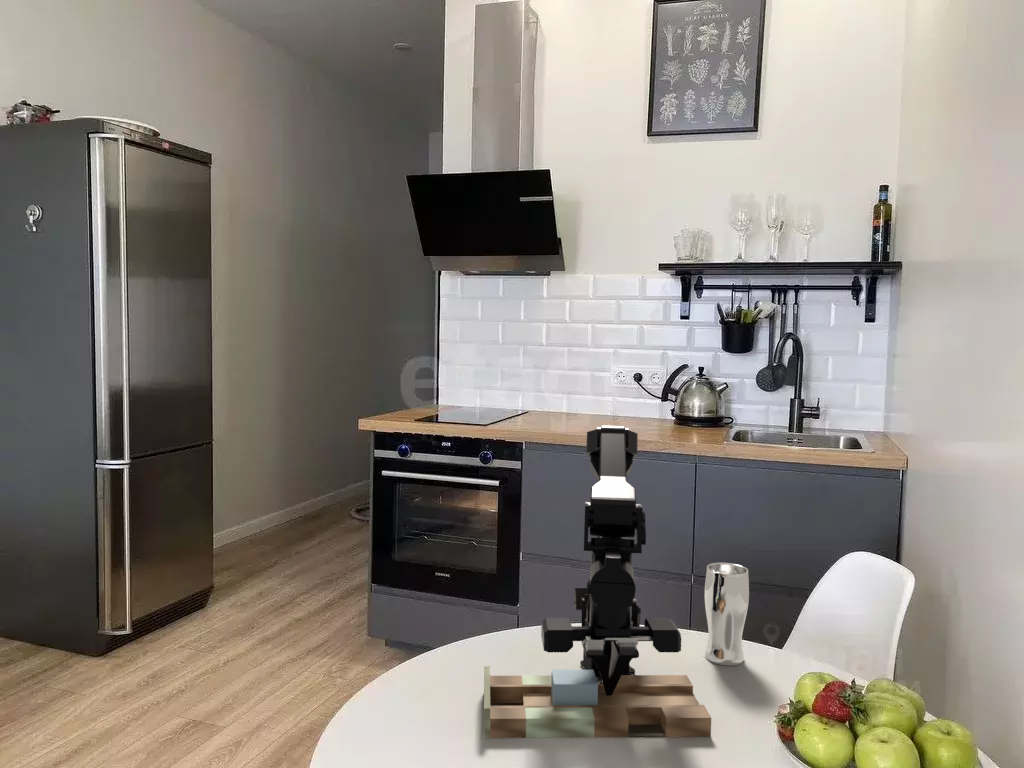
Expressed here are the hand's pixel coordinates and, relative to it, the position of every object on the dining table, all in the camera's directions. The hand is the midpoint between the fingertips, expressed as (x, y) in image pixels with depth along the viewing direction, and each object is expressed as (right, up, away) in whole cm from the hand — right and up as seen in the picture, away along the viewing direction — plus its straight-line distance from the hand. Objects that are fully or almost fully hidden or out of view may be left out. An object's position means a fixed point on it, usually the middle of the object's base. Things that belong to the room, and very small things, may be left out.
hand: (608, 694), depth 107 cm
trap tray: (-2, -3, 0) cm, 4 cm away
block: (-5, -1, 0) cm, 5 cm away
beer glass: (+21, -2, +19) cm, 29 cm away
